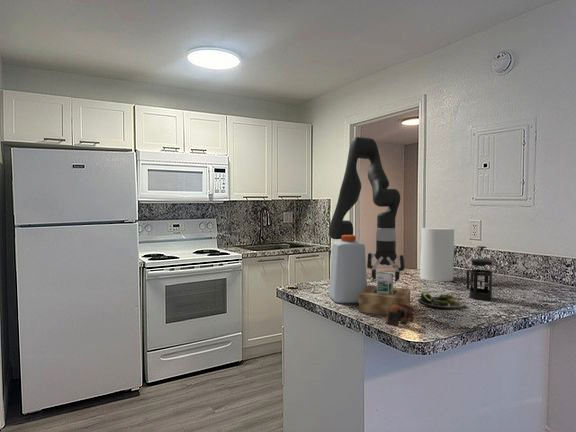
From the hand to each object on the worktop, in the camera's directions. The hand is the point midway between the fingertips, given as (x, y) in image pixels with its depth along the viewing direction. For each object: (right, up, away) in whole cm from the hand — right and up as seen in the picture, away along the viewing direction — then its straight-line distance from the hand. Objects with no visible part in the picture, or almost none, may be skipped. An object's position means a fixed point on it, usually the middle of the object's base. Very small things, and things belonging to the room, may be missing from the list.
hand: (385, 280), depth 159 cm
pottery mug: (+1, -13, -18) cm, 22 cm away
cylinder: (+44, -9, +64) cm, 78 cm away
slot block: (0, -12, 0) cm, 12 cm away
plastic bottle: (-13, -11, +16) cm, 23 cm away
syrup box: (0, -12, +1) cm, 12 cm away
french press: (+47, -11, +20) cm, 52 cm away
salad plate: (+25, -12, +8) cm, 29 cm away
